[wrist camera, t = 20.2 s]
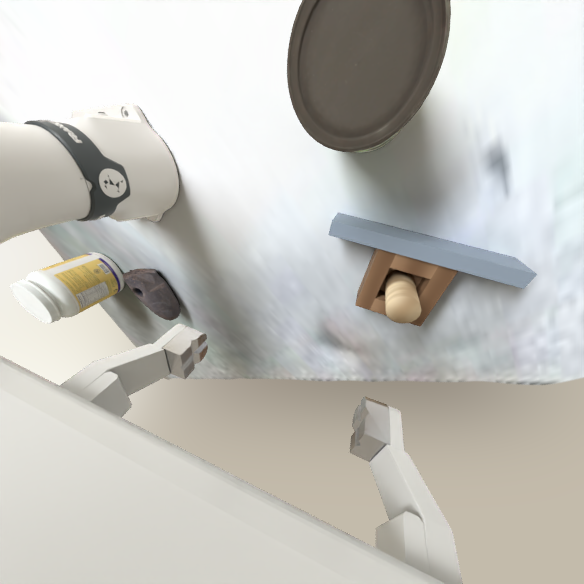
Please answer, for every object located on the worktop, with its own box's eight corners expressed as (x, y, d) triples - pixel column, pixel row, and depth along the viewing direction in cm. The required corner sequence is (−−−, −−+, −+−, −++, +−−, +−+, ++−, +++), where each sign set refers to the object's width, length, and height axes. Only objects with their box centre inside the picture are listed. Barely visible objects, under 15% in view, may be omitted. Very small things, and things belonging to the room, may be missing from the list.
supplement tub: (97, 281, 66) (23, 314, 52) (84, 244, 59) (-6, 271, 45) (131, 296, 64) (63, 335, 50) (121, 259, 57) (39, 293, 43)
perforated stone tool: (190, 310, 58) (169, 326, 52) (178, 313, 60) (157, 329, 55) (154, 258, 52) (127, 271, 47) (142, 264, 55) (115, 277, 49)
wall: (334, 225, 35) (328, 235, 31) (338, 212, 33) (332, 220, 29) (505, 270, 30) (523, 288, 26) (515, 257, 29) (537, 274, 25)
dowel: (381, 287, 36) (380, 317, 29) (391, 266, 33) (393, 292, 27) (406, 295, 35) (411, 327, 28) (418, 273, 33) (427, 303, 26)
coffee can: (386, 164, 29) (389, 171, 17) (314, 137, 30) (272, 126, 18) (441, 54, 22) (500, -48, 11) (347, 24, 24) (314, -95, 12)
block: (357, 291, 39) (355, 305, 35) (379, 237, 33) (379, 247, 30) (416, 309, 37) (420, 326, 33) (450, 256, 31) (459, 269, 28)
